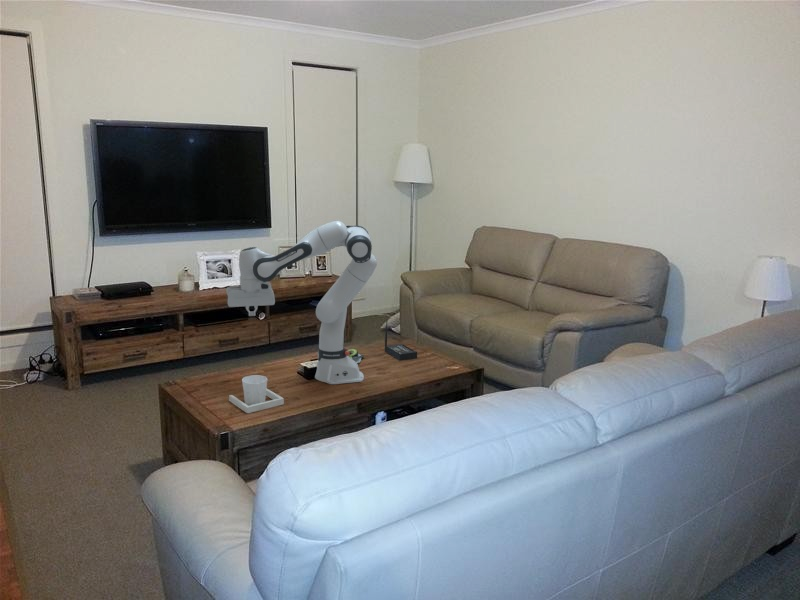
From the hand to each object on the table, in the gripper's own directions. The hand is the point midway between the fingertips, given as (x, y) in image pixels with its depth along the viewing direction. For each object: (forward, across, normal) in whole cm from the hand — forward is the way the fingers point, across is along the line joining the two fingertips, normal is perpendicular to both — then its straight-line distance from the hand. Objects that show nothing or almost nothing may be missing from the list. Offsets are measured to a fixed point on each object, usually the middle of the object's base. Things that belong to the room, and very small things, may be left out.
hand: (252, 315), depth 271 cm
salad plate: (+31, +44, +26) cm, 60 cm away
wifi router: (+32, +74, +34) cm, 87 cm away
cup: (+31, 0, -25) cm, 40 cm away
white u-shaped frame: (+31, 0, -25) cm, 40 cm away
